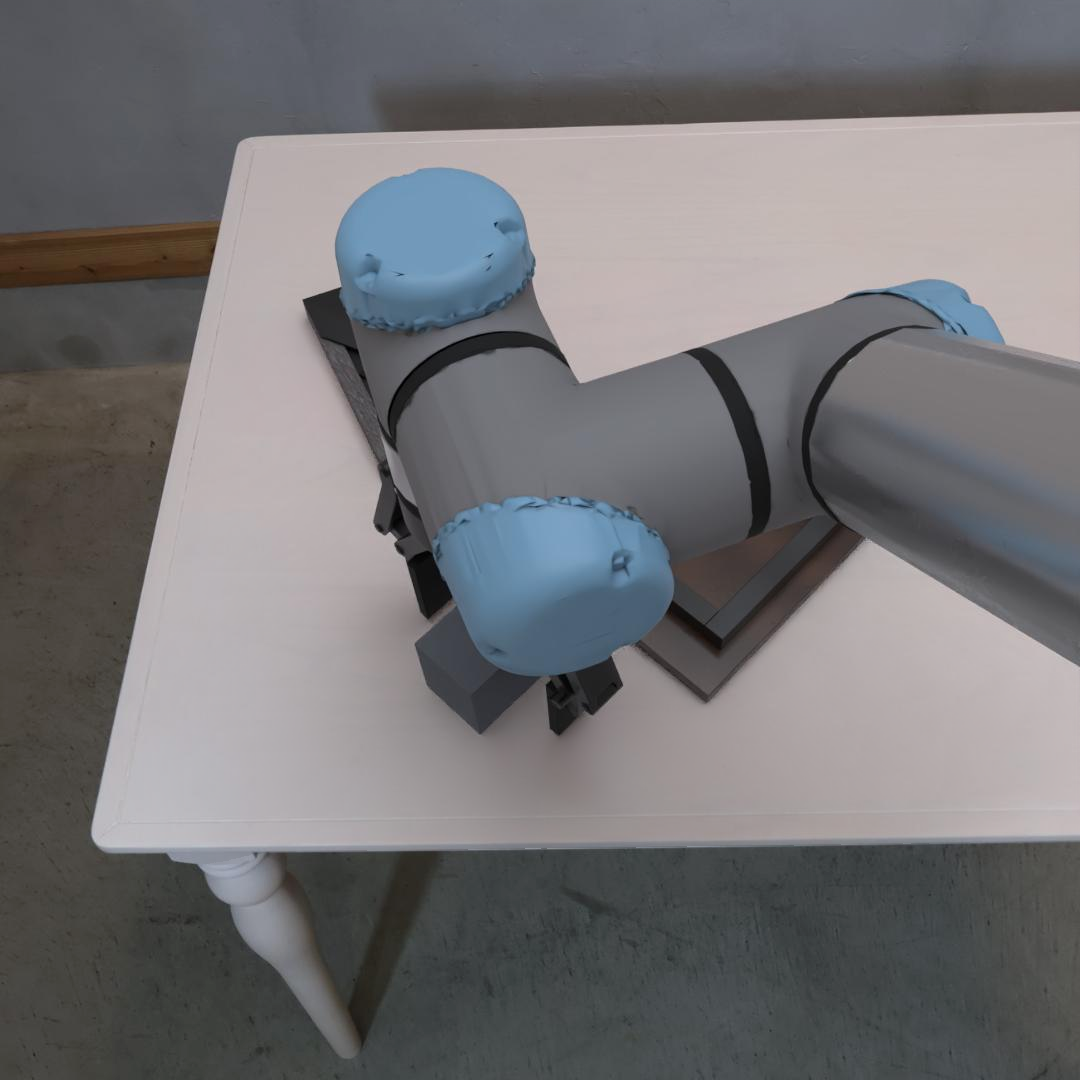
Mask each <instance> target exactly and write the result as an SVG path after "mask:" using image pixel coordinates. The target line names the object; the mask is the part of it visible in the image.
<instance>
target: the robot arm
mask: <svg viewBox="0 0 1080 1080" xmlns="http://www.w3.org/2000/svg"><path fill="white" fill-rule="evenodd" d="M529 239H530V238H529V234H528V229H527V224H526V219H525V216H524V214H523V211H522V210H521V208H520V206H519V204H518V202H517V201H516V199H515V198H514V197H513V195H512V194H510V193H509V192H508V191H507V190H506V189H505V188H504V187H503V186H501V185H500V184H498V183H497V182H495V181H493V180H492V179H490V178H488V177H486V176H484V175H482V174H479V173H476V172H473V171H469V170H465V169H459V168H453V167H440V166H439V167H426V168H419V169H417V170H415V171H414V172H411V173H409V174H402V175H400V176H390V177H387V178H386V179H385V178H384V179H383V180H381V181H380V182H377V183H376V184H374V185H372V186H371V187H370V188H368V189H367V190H366V191H364V192H363V193H362V194H360V195H359V196H358V197H357V198H356V199H355V200H354V201H353V203H351V205H349V207H348V208H347V210H346V211H345V213H344V215H343V217H342V218H341V220H340V223H339V226H338V228H337V230H336V235H335V239H334V254H335V263H336V266H337V271H338V276H339V281H340V287H342V288H341V290H340V299H341V301H342V303H343V307H345V309H346V313H347V314H348V316H349V318H350V322H351V325H352V329H353V333H354V336H355V340H356V343H357V347H358V351H359V354H360V358H361V362H362V365H363V369H364V372H365V375H366V378H367V382H368V385H369V388H370V391H371V395H372V398H373V401H374V404H375V407H376V413H377V421H378V426H379V430H380V434H381V438H382V442H383V445H384V449H385V452H386V456H387V458H385V459H384V460H383V461H382V462H380V463H378V464H377V466H376V468H377V471H378V474H379V478H380V482H381V487H380V490H379V495H378V499H377V502H376V507H375V511H374V515H373V520H372V523H373V525H374V526H373V527H374V529H375V530H376V532H377V533H380V534H381V535H382V536H387V535H388V534H389V533H390V534H391V535H392V536H393V537H394V538H395V539H396V541H395V542H394V543H393V546H394V548H395V551H396V552H397V553H398V555H400V556H402V557H403V558H404V559H405V564H406V566H407V570H408V574H409V577H410V581H411V584H412V589H413V590H414V595H415V598H416V602H417V605H418V608H419V612H420V614H422V615H423V616H424V617H425V618H426V619H427V620H429V619H430V618H432V617H433V616H434V615H435V614H436V613H437V612H438V611H440V610H441V609H442V608H443V607H444V606H445V605H446V604H447V603H449V602H450V601H451V600H452V599H453V601H454V603H455V605H456V606H457V608H458V610H459V612H460V615H461V617H462V619H463V621H464V624H465V626H466V628H467V631H468V633H469V635H470V637H471V639H472V641H473V642H474V644H475V646H476V648H477V649H478V650H479V652H480V653H481V654H482V655H483V656H484V657H485V658H486V659H487V660H488V661H489V662H491V663H492V664H494V665H495V666H497V667H499V668H501V669H503V670H505V671H508V672H511V673H514V674H519V675H525V676H541V677H548V678H549V679H550V680H549V681H547V683H545V693H546V694H545V695H546V703H547V705H546V706H547V714H548V715H547V716H548V723H549V729H550V731H552V732H553V733H554V734H555V735H556V736H557V737H560V735H562V734H563V733H564V731H566V730H567V728H569V727H570V726H571V725H572V724H573V723H574V722H575V721H576V720H577V719H578V718H579V717H580V716H581V715H582V714H583V713H584V712H585V713H587V714H588V715H589V716H595V715H596V714H597V712H599V711H600V709H602V708H603V707H604V706H605V705H606V704H607V703H608V702H609V701H610V700H611V699H612V698H613V697H614V696H615V695H616V694H617V693H618V692H619V691H620V690H621V689H622V688H623V687H624V683H623V681H622V678H621V675H620V674H619V670H618V668H617V666H616V663H615V661H614V658H613V656H612V654H613V653H614V652H617V650H619V649H621V648H623V647H628V646H631V645H636V644H635V643H636V642H637V641H639V640H640V639H641V638H643V637H644V636H645V635H646V634H647V633H649V632H650V631H651V630H652V629H653V628H654V627H655V626H656V624H657V623H658V622H659V621H660V620H661V619H662V618H663V616H664V614H665V613H666V611H667V609H668V607H669V605H670V603H671V601H672V598H673V593H674V578H673V573H672V570H671V568H670V566H671V565H674V564H677V563H680V562H683V561H686V560H689V559H691V558H694V557H697V556H700V555H703V554H706V553H709V552H712V551H715V550H718V549H720V548H723V547H726V546H729V545H732V544H735V543H738V542H741V541H743V540H745V539H748V538H751V537H754V536H757V535H760V534H763V533H766V532H769V531H772V530H775V529H778V528H781V527H784V526H787V525H790V524H793V523H796V522H799V521H802V520H805V519H808V518H811V517H814V516H817V515H826V516H827V517H829V518H831V519H833V520H834V521H836V522H838V523H840V524H841V525H842V526H844V527H846V528H847V529H849V530H851V531H853V532H856V533H859V534H861V535H862V536H864V537H866V538H865V539H867V540H869V541H871V542H872V543H873V544H876V545H877V546H879V547H881V548H882V549H884V550H886V551H887V552H889V553H891V554H892V555H894V556H895V557H897V558H898V559H901V560H902V561H904V562H905V563H908V564H909V565H910V566H912V567H914V568H915V569H917V570H918V571H920V572H922V573H924V574H925V575H927V576H928V577H930V578H931V579H933V580H935V581H937V582H939V583H940V584H942V585H944V586H945V587H947V589H950V590H952V591H953V592H954V593H957V594H958V595H960V596H961V597H963V598H964V599H966V600H968V601H969V602H972V603H973V604H975V605H976V606H978V607H980V608H981V609H983V610H985V611H986V612H987V613H990V614H991V615H993V616H994V617H995V618H997V619H1000V620H1001V621H1003V622H1004V623H1006V624H1008V625H1009V626H1011V627H1013V628H1014V629H1016V630H1017V631H1019V632H1021V633H1022V634H1024V635H1026V636H1027V637H1029V638H1031V639H1032V640H1034V641H1036V642H1037V643H1039V644H1041V645H1042V646H1044V647H1045V648H1047V649H1049V650H1051V651H1052V652H1053V653H1056V654H1057V655H1059V656H1060V657H1062V658H1063V659H1065V660H1067V661H1069V662H1071V663H1072V664H1074V665H1075V666H1077V667H1079V668H1080V361H1077V360H1074V359H1070V358H1069V359H1068V358H1065V357H1060V356H1056V355H1052V354H1047V353H1043V352H1039V351H1035V350H1030V349H1026V348H1022V347H1019V346H1018V347H1017V346H1015V345H1014V346H1013V345H1010V344H1006V342H1005V338H1004V337H1003V334H1002V333H1001V331H1000V329H999V328H998V327H999V326H997V324H996V322H995V320H994V317H992V316H991V314H990V312H989V311H988V310H987V309H986V308H985V307H984V306H983V305H979V304H975V303H972V300H971V298H970V295H969V293H968V291H967V290H966V289H965V288H963V287H961V286H959V285H957V284H956V283H954V282H950V281H947V280H945V279H936V278H925V279H918V280H913V281H909V282H906V283H902V284H898V285H894V286H890V287H885V288H876V289H875V288H873V289H863V290H858V291H855V292H852V293H849V294H848V295H845V296H844V297H842V298H841V299H838V300H835V301H834V302H833V303H830V304H827V305H826V304H825V305H823V306H821V307H817V308H814V309H811V310H808V311H805V312H802V313H799V314H796V315H792V316H790V317H787V318H783V319H780V320H777V321H774V322H771V323H768V324H765V325H762V326H759V327H755V328H753V329H749V330H746V331H742V332H741V333H737V334H734V335H731V336H728V337H725V338H722V339H718V340H715V341H713V342H709V343H707V344H704V345H703V344H702V345H701V346H697V347H693V348H690V349H687V350H684V351H681V352H678V353H676V354H673V355H670V356H666V357H662V358H659V359H656V360H653V361H649V362H646V363H642V364H639V365H637V366H633V367H630V368H627V369H624V370H621V371H618V372H617V371H616V372H614V373H611V374H607V375H603V376H601V377H600V376H599V377H598V378H595V379H592V380H589V381H585V382H580V381H579V379H578V378H577V376H576V375H575V373H574V371H573V370H572V368H571V366H570V364H569V361H568V360H567V358H566V355H565V354H564V353H563V352H562V350H561V348H560V346H559V344H558V342H557V340H556V338H555V336H554V334H553V332H552V330H551V327H550V326H549V324H548V322H547V320H546V318H545V316H544V314H543V311H542V310H541V308H540V305H539V302H538V299H537V296H536V291H535V288H534V282H533V278H534V276H535V273H536V271H535V268H536V266H537V264H536V263H537V262H536V261H537V260H536V257H535V255H534V253H533V251H532V250H531V244H530V240H529Z"/></svg>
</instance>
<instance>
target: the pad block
mask: <svg viewBox="0 0 1080 1080" xmlns="http://www.w3.org/2000/svg"><path fill="white" fill-rule="evenodd" d="M413 645H414V648H415V651H416V654H417V658H418V660H419V664H420V668H421V670H422V673H423V677H424V680H425V683H426V686H427V687H428V688H429V689H431V691H432V692H433V693H435V695H436V696H437V697H439V698H440V699H441V700H442V701H443V702H444V703H445V704H446V705H447V706H448V707H449V708H450V709H452V711H454V712H455V713H456V714H457V715H458V716H459V717H460V718H461V719H462V720H463V721H465V722H466V724H468V725H469V726H470V727H471V728H472V729H474V731H475V732H476V733H477V734H479V735H482V733H483V732H484V731H485V730H486V729H488V727H490V725H491V724H493V722H495V721H496V720H497V719H498V718H499V717H500V716H501V715H502V714H503V713H504V712H505V711H506V710H507V709H509V707H510V706H512V705H513V704H514V703H515V702H516V701H517V700H518V699H519V698H520V697H521V696H522V695H523V694H524V693H525V692H526V691H527V690H528V689H530V688H531V687H532V686H533V685H534V684H535V683H536V682H537V681H538V680H539V679H540V678H541V677H542V676H525V675H519V674H514V673H511V672H508V671H505V670H503V669H501V668H499V667H497V666H495V665H494V664H492V663H491V662H489V661H488V660H487V659H486V658H485V657H484V656H483V655H482V654H481V653H480V652H479V650H478V649H477V648H476V646H475V644H474V642H473V641H472V639H471V637H470V635H469V633H468V631H467V628H466V626H465V624H464V621H463V619H462V617H461V615H460V612H459V610H458V608H457V605H456V606H455V607H454V608H452V610H450V611H449V612H448V613H447V614H446V615H444V616H443V617H442V619H440V620H439V621H438V622H437V623H435V625H433V626H432V627H431V628H430V629H429V630H427V632H426V633H424V634H423V635H422V636H421V637H420V638H419V639H417V640H416V641H415V642H414V644H413Z"/></svg>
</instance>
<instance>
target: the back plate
mask: <svg viewBox="0 0 1080 1080" xmlns="http://www.w3.org/2000/svg"><path fill="white" fill-rule="evenodd" d="M866 539H867V538H866V537H864V536H862V535H861V534H859V533H856V532H853V531H851V530H849V529H847V528H846V527H844V526H842V525H841V524H840V523H838V522H836V521H834V520H833V519H831V518H829V517H827V516H826V515H817V516H814V517H811V518H808V519H805V520H802V521H799V522H796V523H793V524H790V525H787V526H784V527H781V528H778V529H775V530H772V531H769V532H766V533H763V534H760V535H757V536H754V537H751V538H748V539H745V540H743V541H741V542H738V543H735V544H732V545H729V546H726V547H723V548H720V549H718V550H715V551H712V552H709V553H706V554H703V555H700V556H697V557H694V558H691V559H689V560H686V561H683V562H680V563H677V564H674V565H671V566H670V568H671V570H672V573H673V578H674V593H673V598H672V601H671V603H670V605H669V607H668V609H667V611H666V613H665V614H664V616H663V618H662V619H661V620H660V621H659V622H658V623H657V624H656V626H655V627H654V628H653V629H652V630H651V631H650V632H649V633H647V634H646V635H645V636H644V637H643V638H641V639H640V640H639V641H637V642H636V643H635V644H634V645H636V646H638V647H639V648H640V649H641V650H642V651H644V652H645V653H646V654H648V655H649V656H650V657H651V658H652V659H653V660H655V661H656V662H657V663H659V664H660V665H661V666H662V667H663V668H665V669H666V670H667V671H669V672H670V673H671V674H672V675H674V677H675V678H676V679H678V680H679V681H680V682H682V683H683V684H684V685H685V686H687V687H688V688H689V689H690V690H691V691H693V692H694V693H695V694H696V695H698V697H700V698H701V699H702V700H704V701H705V703H708V702H709V701H710V700H711V699H712V698H714V696H715V695H716V694H717V693H718V692H719V691H720V690H721V689H722V688H723V686H725V685H726V684H727V683H728V682H729V680H731V678H732V677H734V675H735V674H736V673H737V672H738V671H739V670H740V669H741V668H742V667H743V666H744V665H745V664H746V663H747V662H748V661H749V660H750V659H751V658H752V656H754V655H755V653H757V651H758V650H759V649H760V648H761V647H762V646H764V644H766V642H767V641H768V640H769V639H770V638H771V637H772V636H773V635H774V634H775V633H776V632H777V631H778V629H780V628H781V626H782V625H784V623H785V622H786V621H788V620H789V618H790V617H791V616H793V614H794V613H795V612H796V611H797V610H798V609H799V608H800V607H801V606H802V605H803V603H805V602H806V600H807V599H809V598H810V597H811V595H812V594H813V593H815V591H816V590H817V589H818V588H819V587H820V586H821V585H822V584H823V583H824V582H825V581H826V580H827V579H828V578H829V577H830V576H831V574H833V572H834V571H835V570H836V569H837V568H838V567H840V565H841V564H842V563H843V562H844V561H845V560H846V559H847V558H848V557H849V556H850V555H851V554H852V553H853V552H854V551H855V550H856V549H857V548H858V547H859V546H860V545H861V543H862V542H864V540H866Z"/></svg>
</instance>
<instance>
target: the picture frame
mask: <svg viewBox="0 0 1080 1080" xmlns="http://www.w3.org/2000/svg"><path fill="white" fill-rule="evenodd" d="M341 288H342V287H341V286H339V287H336V288H333V289H331V290H327V291H324V292H321V293H317V294H315V295H311V296H308V297H306V298H302V300H301V301H302V303H303V304H302V305H303V307H304V310H305V313H306V317H307V318H308V321H309V323H310V326H311V327H312V329H313V331H314V333H315V335H316V337H317V340H318V341H319V343H320V346H321V348H322V350H323V352H324V354H325V356H326V358H327V360H328V362H329V364H330V367H331V368H332V371H333V372H334V374H335V377H336V379H337V381H338V382H339V385H340V387H341V389H342V391H343V393H344V395H345V398H346V399H347V402H348V403H349V406H350V408H351V410H352V412H353V414H354V416H355V418H356V420H357V422H358V424H359V426H360V428H361V431H362V432H363V434H364V436H365V438H366V440H367V442H368V444H369V447H370V449H371V451H372V453H373V455H374V457H375V459H376V461H377V463H378V464H379V463H380V462H382V461H383V460H384V459H385V458H387V456H386V452H385V449H384V445H383V442H382V438H381V434H380V430H379V426H378V421H377V413H376V407H375V404H374V401H373V398H372V395H371V391H370V388H369V385H368V382H367V378H366V375H365V372H364V369H363V365H362V362H361V358H360V354H359V351H358V347H357V343H356V340H355V336H354V333H353V329H352V325H351V322H350V318H349V316H348V314H347V313H346V309H345V307H343V303H342V301H341V299H340V290H341Z"/></svg>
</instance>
